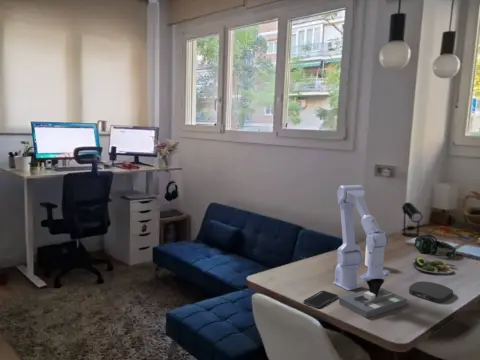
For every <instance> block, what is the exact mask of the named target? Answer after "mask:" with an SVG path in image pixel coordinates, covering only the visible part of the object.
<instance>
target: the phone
mask: <svg viewBox="0 0 480 360" xmlns="http://www.w3.org/2000/svg"><path fill="white" fill-rule="evenodd" d="M338 298H339V295H338V294H335V293H333V292H329V291H327V290H320V291H318V292H317V293H314V294H313V295H311V296H309V297H307V298H306V299H304V300H303V301H302V303H303V304H304V305H306V306H309V307H312V308H314V309H319V310H320V309H322V308H324V307H326V306H327V305H329V304H331V303H332V302H333V301H336V300H337V299H338ZM335 299H336V300H335ZM330 302H331V303H330Z"/></svg>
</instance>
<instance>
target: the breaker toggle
mask: <svg viewBox="0 0 480 360" xmlns="http://www.w3.org/2000/svg"><path fill="white" fill-rule="evenodd" d="M375 296H376V295H375V294H373V293H371V292H369V291H367V292H364V298H366V299H368V300H371V299H374V298H375Z"/></svg>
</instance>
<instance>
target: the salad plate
mask: <svg viewBox="0 0 480 360" xmlns="http://www.w3.org/2000/svg"><path fill="white" fill-rule="evenodd" d="M412 266H413V268H414V269H416V271H418V272H419V273H423V274H425V275H449V274H451V273H453V272H454V269H453V268H452V267H455V266H456V265H454V264H450V263H446V262H445V261H443V262H442V260H437V259H434V260H426V259H425V258H424V257H422V256H416V257H415V258H414V259H413V261H412ZM441 271H444V272H441Z"/></svg>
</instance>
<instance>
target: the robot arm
mask: <svg viewBox="0 0 480 360" xmlns="http://www.w3.org/2000/svg"><path fill="white" fill-rule="evenodd" d="M336 196H337V204H338V206H339V209H340V220H341V222H340V223H341V232H342V233H341V234H342V245H340V246H339V247H338V248H337V255H336V262H337V264H336V267H335V271H334V281H333V284H334V285H337V286H338V287H340V288H342V289H344V290H345V291H352V290H356V289H360V288H362V285H360V284H358V275H359V268H360V266H361V265H362V264H363V262H364V255H363V252H362V249H361V247H360V246H359V245H358V244H356V234H355V224H354V223H355V222H354V212H353V211H354V210H353V209H354V208H353V207H355V209H356V210H357V212H358V215H359V216H360V218H361V220H360V224H361V226H362V228H363V230H364V233H365V235H366V238H365V242H366V245H367V249H368V251H369V255H368V267H367V272H364V274H363V275H360V276H359V282H361V283H363V284H364V283H367V286H368V288H369V290H370V292H371V293H373V294H375V295H376V296H375V297H377V295H378V292H379V289H380V288H382V286H383V284H384V282H385V277H390V270H388V269H384V265H385V263H384V262H385V261H384V260H385V249H386V248H385V247H387V246H388V244H389V238H388V234H387V232H385V231H384V230H383V229H381V228H380V225H379V223H378V222H377V220H376V218H375V216H373V215H371V213H370V211H369V207H368V206H367V202H366V200H365V197H366V191H365V187H364V186H363V185H362V184H352V185H351V184H350V185H342V184H341V185H339V187H338V189H337V192H336Z"/></svg>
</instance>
